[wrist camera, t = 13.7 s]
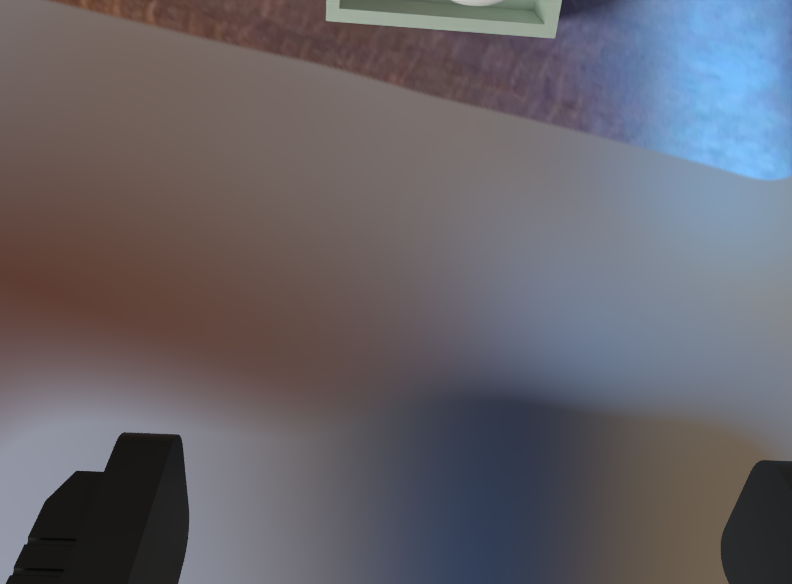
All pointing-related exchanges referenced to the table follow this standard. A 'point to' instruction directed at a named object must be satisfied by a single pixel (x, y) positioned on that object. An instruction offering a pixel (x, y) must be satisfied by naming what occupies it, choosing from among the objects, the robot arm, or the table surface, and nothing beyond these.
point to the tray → (453, 15)
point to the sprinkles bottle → (477, 2)
